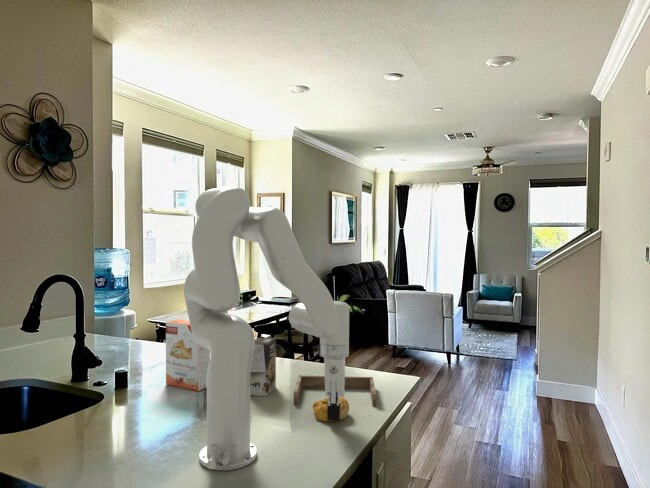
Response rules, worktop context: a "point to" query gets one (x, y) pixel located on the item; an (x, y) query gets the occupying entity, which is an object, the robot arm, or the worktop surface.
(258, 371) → the coffee box
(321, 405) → the bagel
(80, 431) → the worktop surface
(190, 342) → the cracker box
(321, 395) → the worktop surface
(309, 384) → the box
